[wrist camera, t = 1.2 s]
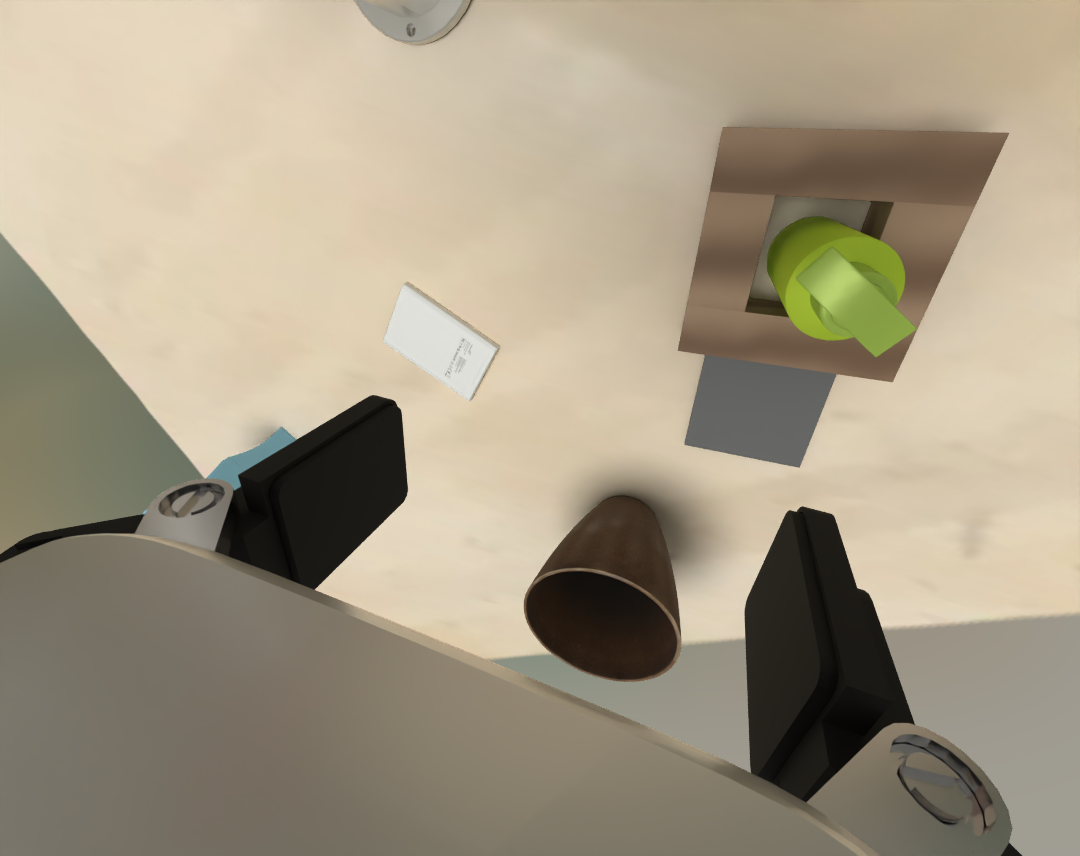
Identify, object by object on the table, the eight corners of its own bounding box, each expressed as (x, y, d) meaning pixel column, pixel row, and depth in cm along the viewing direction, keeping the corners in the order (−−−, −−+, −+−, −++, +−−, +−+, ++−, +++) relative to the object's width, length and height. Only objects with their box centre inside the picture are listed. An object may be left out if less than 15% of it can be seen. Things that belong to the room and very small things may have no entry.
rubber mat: (708, 342, 43) (708, 344, 42) (839, 360, 40) (840, 363, 39) (684, 441, 48) (684, 444, 48) (798, 464, 45) (799, 467, 45)
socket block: (722, 132, 35) (722, 127, 31) (970, 138, 31) (1009, 132, 27) (681, 333, 43) (677, 350, 39) (874, 359, 39) (892, 382, 35)
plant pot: (715, 547, 53) (714, 671, 40) (611, 579, 61) (582, 691, 48) (645, 449, 50) (618, 548, 37) (545, 496, 58) (494, 592, 45)
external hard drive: (411, 280, 51) (502, 344, 51) (390, 338, 55) (474, 397, 55) (402, 283, 49) (496, 349, 49) (381, 343, 54) (467, 403, 54)
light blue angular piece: (304, 487, 74) (185, 577, 57) (266, 453, 73) (134, 536, 57) (321, 462, 70) (197, 552, 53) (281, 426, 69) (143, 507, 52)
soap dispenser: (805, 190, 35) (881, 207, 19) (867, 252, 36) (994, 321, 19) (741, 251, 38) (758, 312, 22) (799, 307, 39) (858, 407, 22)
